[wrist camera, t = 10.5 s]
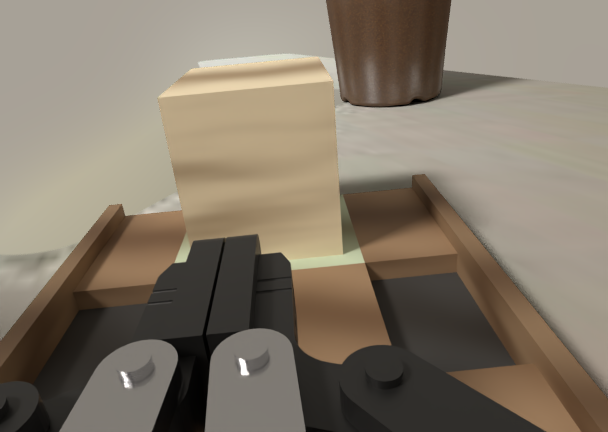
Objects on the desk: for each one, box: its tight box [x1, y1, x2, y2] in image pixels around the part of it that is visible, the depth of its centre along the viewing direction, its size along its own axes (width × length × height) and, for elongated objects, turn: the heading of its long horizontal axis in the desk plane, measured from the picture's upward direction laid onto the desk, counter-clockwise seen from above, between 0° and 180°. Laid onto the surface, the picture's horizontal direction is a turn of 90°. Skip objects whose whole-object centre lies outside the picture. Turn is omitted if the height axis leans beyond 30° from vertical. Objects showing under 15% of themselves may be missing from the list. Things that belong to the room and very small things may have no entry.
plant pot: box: [326, 0, 451, 107], centre depth 54 cm, size 16×16×16 cm
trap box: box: [0, 174, 608, 432], centre depth 18 cm, size 23×19×2 cm
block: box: [157, 57, 343, 260], centre depth 24 cm, size 8×7×8 cm
